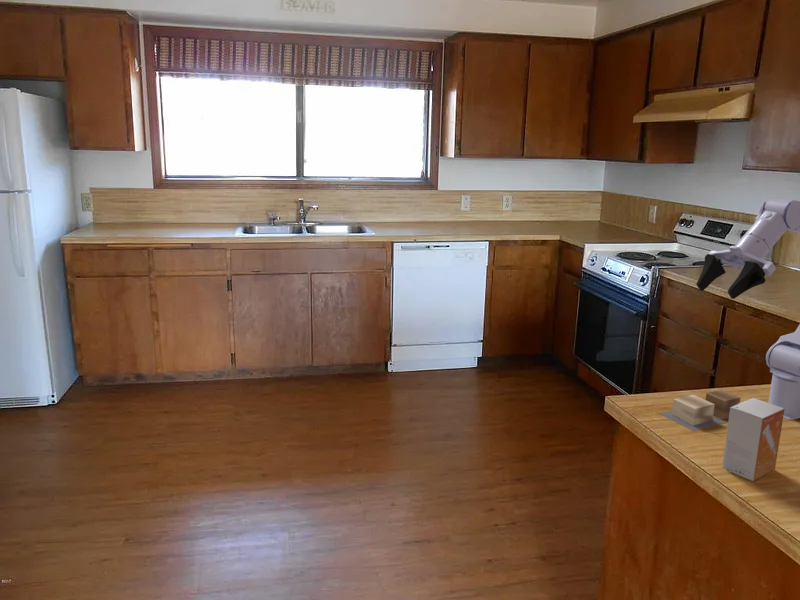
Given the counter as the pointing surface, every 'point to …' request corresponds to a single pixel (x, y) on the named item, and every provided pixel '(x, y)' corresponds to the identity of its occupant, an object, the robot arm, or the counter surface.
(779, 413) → the small box
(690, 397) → the maple block
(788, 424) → the counter surface
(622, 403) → the counter surface
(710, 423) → the mat
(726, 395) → the walnut block
